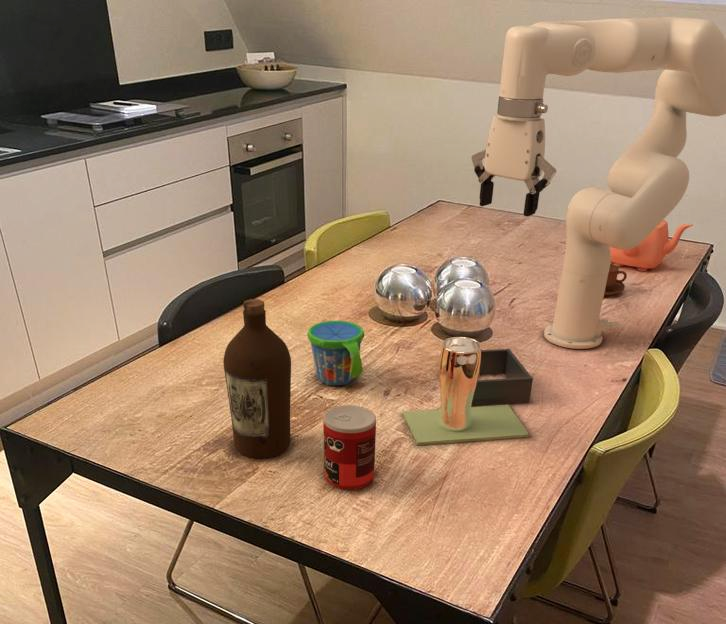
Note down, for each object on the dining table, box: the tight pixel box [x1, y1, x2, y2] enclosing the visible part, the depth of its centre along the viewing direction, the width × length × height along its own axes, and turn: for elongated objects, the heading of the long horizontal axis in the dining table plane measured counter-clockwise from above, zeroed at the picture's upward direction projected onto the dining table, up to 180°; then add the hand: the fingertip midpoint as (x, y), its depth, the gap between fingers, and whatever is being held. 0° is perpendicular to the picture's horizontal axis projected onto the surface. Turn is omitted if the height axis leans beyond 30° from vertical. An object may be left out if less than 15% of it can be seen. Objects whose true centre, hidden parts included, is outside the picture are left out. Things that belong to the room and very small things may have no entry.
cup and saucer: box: [604, 263, 628, 296], centre depth 193 cm, size 12×12×6 cm
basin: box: [471, 348, 534, 407], centre depth 146 cm, size 13×13×5 cm
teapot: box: [610, 220, 694, 272], centre depth 209 cm, size 18×18×14 cm
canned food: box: [322, 404, 377, 491], centre depth 118 cm, size 8×8×11 cm
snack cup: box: [306, 320, 365, 386], centre depth 147 cm, size 16×10×10 cm
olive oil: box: [223, 298, 292, 459], centre depth 122 cm, size 11×11×25 cm
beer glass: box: [437, 336, 482, 431], centre depth 131 cm, size 7×7×15 cm
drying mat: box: [402, 404, 530, 446], centre depth 135 cm, size 20×11×1 cm, turn 100°
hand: (507, 209), depth 142 cm, fingers open, 9 cm apart
